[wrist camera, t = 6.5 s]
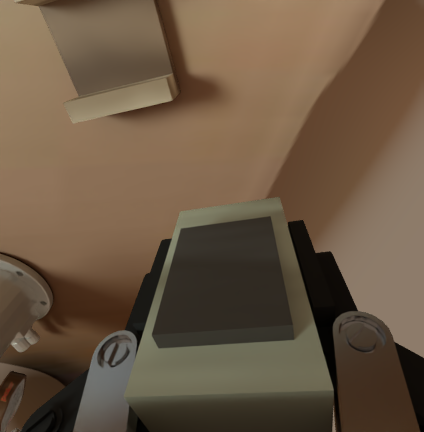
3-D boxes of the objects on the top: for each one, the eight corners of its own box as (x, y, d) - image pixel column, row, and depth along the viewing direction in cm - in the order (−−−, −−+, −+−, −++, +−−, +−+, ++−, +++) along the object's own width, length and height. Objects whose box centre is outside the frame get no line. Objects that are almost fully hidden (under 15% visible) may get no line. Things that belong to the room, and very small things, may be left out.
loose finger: (286, 272, 13) (330, 470, 7) (202, 280, 14) (177, 468, 8) (278, 185, 10) (334, 375, 5) (177, 201, 11) (113, 384, 5)
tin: (13, 362, 49) (-24, 417, 42) (31, 367, 50) (-2, 422, 43) (10, 396, 57) (-22, 447, 50) (25, 400, 58) (-4, 451, 51)
